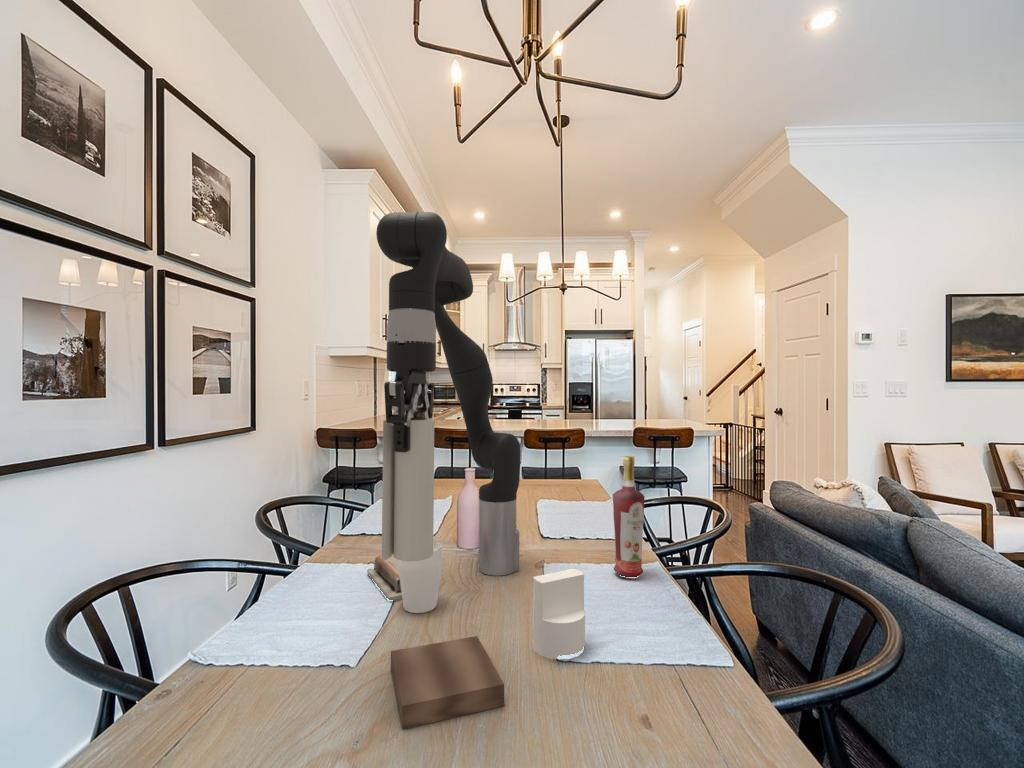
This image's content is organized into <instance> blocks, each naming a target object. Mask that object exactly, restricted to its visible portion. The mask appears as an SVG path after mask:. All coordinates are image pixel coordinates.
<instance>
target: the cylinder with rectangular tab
mask: <svg viewBox="0 0 1024 768" xmlns="http://www.w3.org/2000/svg"><path fill="white" fill-rule="evenodd" d="M532 578H533V579H532V581H533V582H532V585H533V586H532V589H533V596H532V597H533V602H532V604H533V605H532V648H533V650H534V651H535V653H537V654H538V655H540V656H541V657H544V658H546V659H551V660H554V659H555V660H556V659H557V657H558V656H559V655H560V656H562V655H570V654H575V653H578V652H579V651H581V650H582V649H583V647H584V646H585V647H586V610H585V574H584V573H583V572H582V570H581V571H580V570H579V569H577V568H571V569H567V570H566V569H565V570H561V571H556V572H551V573H546V574H542V575H536V576H533V577H532Z"/></svg>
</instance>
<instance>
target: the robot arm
mask: <svg viewBox="0 0 1024 768" xmlns="http://www.w3.org/2000/svg"><path fill="white" fill-rule="evenodd" d="M445 223H446V222H444V220H443V218H442V217H441V216H440V215H439V214H438V213H435V212H432V211H412V212H411V211H410V212H409V211H407V212H406V211H403V212H400V211H399V212H397V211H396V212H390V213H387V214H385V215H384V216H382V218H381V219H380V220H379V221H378V224H377V226H376V234H375V235H376V240H377V244H378V247H379V249H380V250H381V252H382V253H383V254H384V256H385V257H387V258H388V259H389V260H391V261H392V262H395V263H397V264H399V265H403V266H406V267H409V268H410V267H411V269H408V270H403V271H400V272H397V273H394V274H393V275H391V276H390V278H389V282H388V315H387V324H386V369H387V371H388V372H393V373H395V377H394V380H393V381H385V382H384V385H383V386H384V388H383V389H384V406H385V420H386V422H387V423H391V424H392V426H394V450H395V451H396V452H408V451H409V450H410V427H407V426H409V425H410V421H411V418H425V419H433V416H434V415H433V413H434V400H435V399H434V397H435V396H434V395H435V384H434V383H433V382H428V381H427V376H426V373H433V372H435V371H436V369H437V334H438V336H439V340H440V342H441V347H442V350H443V353H444V356H445V361H446V363H447V364H446V365H447V368H448V371H449V374H450V377H451V380H452V383H453V387H454V389H455V392H456V395H457V399H458V402H459V405H460V409H461V412H462V415H463V416H462V417H463V419H464V423H465V428H466V433H467V438H468V443H469V448H470V452H471V455H472V459H473V461H474V463H475V464H476V465H477V467H479V468H481V469H485V470H490V471H493V474H492V480H491V481H490V482H489V483H485V484H483V485H481V486H480V487H479V489H478V559H477V560H478V570H479V572H480V573H482V574H484V575H487V576H499V577H500V576H506V575H510V574H512V573H515V572H517V571H518V572H519V571H520V531H519V529H517V493H518V489H519V486H520V477H521V461H522V460H521V458H522V456H521V455H522V453H521V452H522V450H521V443H520V442H519V441H520V440H519V439H518V438H517V436H516V435H514V434H513V433H507V432H506V433H505V432H494V430H493V428H492V425H491V421H490V418H489V411H488V407H489V403H490V398H491V394H492V390H493V384H494V383H493V381H494V379H493V374H492V371H491V367H490V364H489V361H488V358H487V357H488V356H487V354H486V353H485V351H484V350H483V349H482V347H481V346H480V345H478V343H476V342H475V341H474V340H473V339H472V338H470V337H469V336H468V335H467V334H466V333H465V332H463V331H462V330H461V329H460V328H459V326H457V325H456V323H455V322H454V321H453V320H452V318H451V316H450V315H449V314H448V312H447V310H446V308H445V306H446V305H449V304H453V303H457V302H462V301H464V300H467V299H469V298H470V297H471V296H472V294H473V291H474V281H473V279H472V275H471V271H470V269H469V267H468V265H467V263H466V261H465V260H464V259H463V258H462V257H460V256H458V255H457V254H455V253H453V252H451V251H450V250H449V249H448V248H447V246H446V245H447V239H448V232H447V226H446V224H445Z"/></svg>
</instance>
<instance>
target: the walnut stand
mask: <svg viewBox="0 0 1024 768" xmlns="http://www.w3.org/2000/svg"><path fill="white" fill-rule="evenodd" d="M390 674H391V679H392V684H393V688H394V689H393V690H394V694H395V698H396V705H397V709H398V713H399V715H398V716H399V720H400V725H401V730H406V729H409V728H410V729H411V728H414V727H418V726H422V725H427V724H432V723H436V722H439V721H445V720H448V719H452V718H457V717H458V718H459V717H461V716H465V715H469V714H474V713H479V712H482V711H487V710H488V711H489V710H491V709H497V708H500V707H504V706H505V682H504V681H503V679H502V678H501V676H500V674H499V672H498V670H497V668H496V667H495V665H494V663H493V661H492V660H491V658H490V656H489V654H488V652H487V651H486V648H485V647H484V645H483V644H482V642H481V640H480V638H479V636H478V635H475V636H469V637H463V638H458V639H453V640H446V641H440V642H434V643H430V644H429V643H428V644H423V645H417V646H412V647H407V648H400V649H396V650H391V651H390Z"/></svg>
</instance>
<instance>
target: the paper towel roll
mask: <svg viewBox="0 0 1024 768" xmlns="http://www.w3.org/2000/svg"><path fill="white" fill-rule="evenodd" d="M407 427H410V450H409V451H408V452H396V451H395V450H394V426H392V424H391V423H387V422H386V419H385V420H383V421H382V490H381V491H382V500H381V502H382V504H381V507H382V509H381V555H382V561H385V560H387V559H389V558H390V557H391V556H392V555H393V554H394V557H395V558H396V559H397V560H401V561H420V560H425V559H427V558H430V557H431V556H432V555H433V541H434V522H435V521H434V519H435V518H434V513H435V512H434V510H435V509H434V502H435V501H434V500H435V499H434V498H435V497H434V495H435V491H434V490H435V418H434V419H433V418H429V419H425V418H412V417H411V421H410V425H409V426H407Z"/></svg>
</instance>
